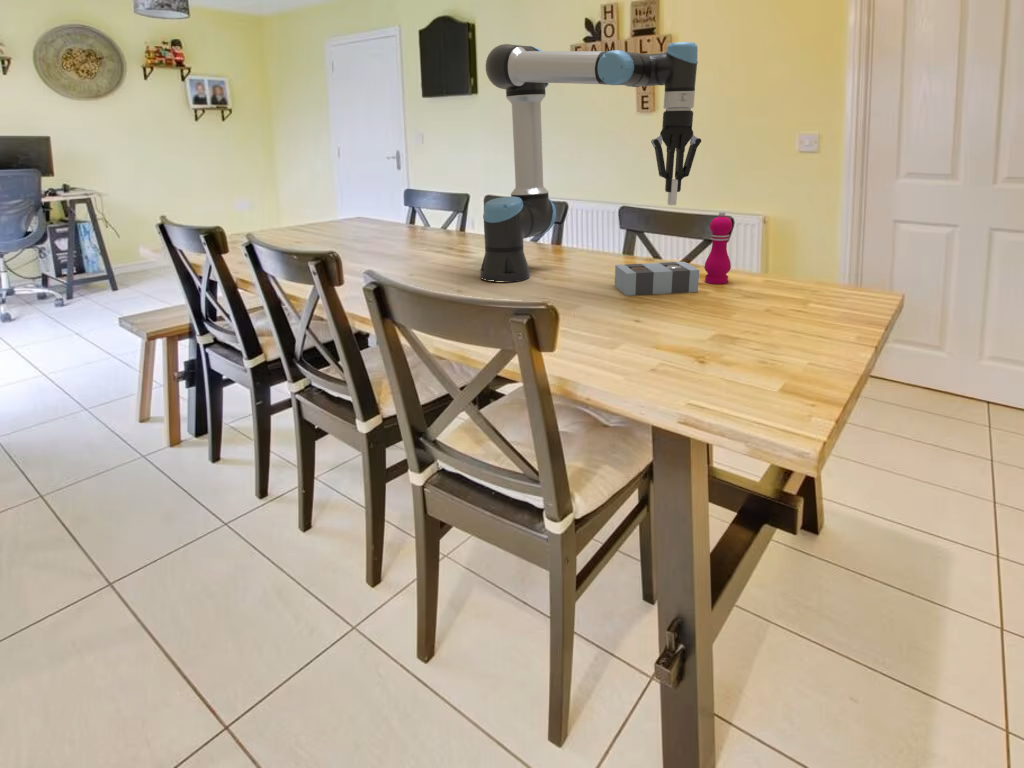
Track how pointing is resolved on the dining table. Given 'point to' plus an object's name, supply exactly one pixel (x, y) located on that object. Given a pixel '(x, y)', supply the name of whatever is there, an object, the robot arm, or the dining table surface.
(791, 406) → the dining table surface
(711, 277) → the pepper mill
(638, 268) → the walnut peg
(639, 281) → the socket block
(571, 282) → the dining table surface
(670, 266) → the grey metal peg
